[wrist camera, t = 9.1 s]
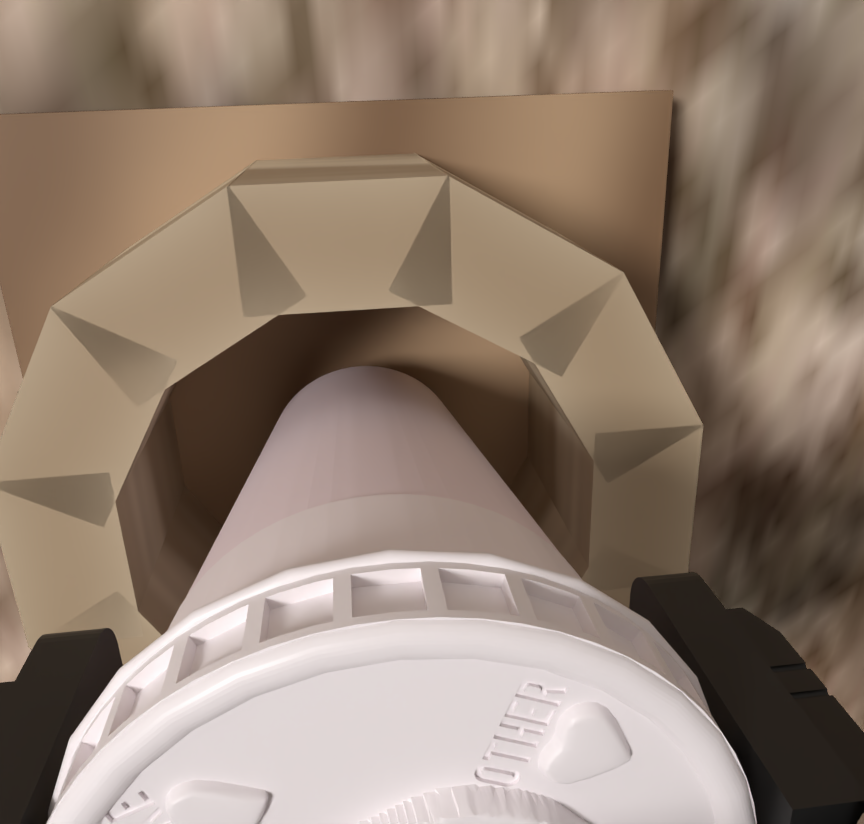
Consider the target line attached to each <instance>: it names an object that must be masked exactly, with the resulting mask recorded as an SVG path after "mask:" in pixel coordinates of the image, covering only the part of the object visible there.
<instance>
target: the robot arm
mask: <svg viewBox="0 0 864 824" xmlns="http://www.w3.org/2000/svg"><path fill="white" fill-rule="evenodd" d="M629 609H630V610H632V611H634V612H635V613H637V614H639V615H640V616H642V617H644V618H645V619H647V620H649V622H650V623H651V624H652V625H653V626H654V627H655V629H656V630H657V631H658V632H659V633H660V634H661V636H662V637H663V638H664V639H665V640H666V641H667V642H668V644H669V645H670V646H671V647H672V648H673V649H674V651H675V652H676V653H677V654H678V655H679V656H680V658H681V659H682V660H683V661H684V662H685V663H686V665H687V666H688V667H689V668H690V669H691V670H692V671H693V673H694V674H695V675H696V676H697V678H698V681H699V684H700V686H701V689H702V691H703V694H704V697H705V699H706V702H707V705H708V707H709V710H710V713H711V715H712V717H713V718H714V720H715V722H716V723H717V725H718V727H719V728H720V730H721V731H722V733H723V735H724V736H725V738H726V739H727V741H728V742H729V744H730V746H731V747H732V749H733V750H734V752H735V754H736V755H737V758H738V760H739V762H740V764H741V766H742V769H743V771H744V773H745V775H746V777H747V780H748V784H749V787H750V791H751V794H752V798H753V801H754V807H755V814H756V820H757V824H864V732H863V731H862V730H861V729H860V728H859V726H858V725H857V724H856V723H855V722H854V720H853V719H852V718H851V717H850V716H849V714H848V713H847V712H846V711H845V710H844V708H843V707H842V706H841V705H840V704H839V702H838V701H837V700H836V699H835V698H834V696H833V695H831V696H829V695H828V693H827V688H826V687H825V686H824V684H823V683H822V682H821V681H820V680H819V678H818V677H817V676H816V675H815V674H814V672H813V671H812V670H811V669H807V668H806V665H805V662H804V660H803V659H802V658H801V657H800V656H799V654H798V653H797V652H796V651H795V650H794V648H793V647H792V646H791V645H790V644H789V642H788V641H787V640H786V639H785V638H784V636H783V635H782V634H781V633H780V632H779V631H777V630H776V629H774V628H773V627H771V626H770V625H768V624H767V623H765V622H764V621H762V620H761V619H759V618H757V617H756V616H754V615H753V614H751V613H750V612H748V611H747V610H745V609H744V608H735V609H725V608H724V607H723V605H722V604H721V603H720V601H719V600H718V599H717V597H716V596H715V595H714V593H713V592H712V591H711V590H710V588H709V587H708V586H707V584H706V583H705V582H704V580H703V579H702V578H701V577H700V576H699V575H698V574H697V573H694V572H688V573H678V574H667V575H657V576H647V577H637V578H636V579H635V580H634V581H633V583H632V586H631V592H630V603H629ZM122 666H123V664H122V659H121V655H120V650H119V646H118V642H117V639H116V636H115V634H114V632H113V631H112V630H111V629H110V628H102V629H92V630H82V631H71V632H61V633H51V634H44V635H42V636H41V637H40V638H39V639H38V640H37V642H36V643H35V645H34V647H33V649H32V651H31V652H30V654H29V656H28V658H27V660H26V662H25V664H24V665H23V667H22V669H21V671H20V673H19V675H18V677H17V679H16V680H15V681H13V682H3V683H0V824H46V823H47V821H48V809H49V806H50V802H51V799H52V796H53V792H54V789H55V786H56V782H57V779H58V775H59V772H60V769H61V765H62V762H63V758H64V755H65V752H66V748H67V745H68V741H69V738H70V737H71V735H72V734H73V733H74V731H75V730H76V728H77V727H78V726H79V724H80V723H81V721H82V720H83V719H84V717H85V716H86V714H87V713H88V712H89V710H90V709H91V707H92V706H93V705H94V703H95V702H96V700H97V699H98V698H99V696H100V695H101V693H102V692H103V691H104V689H105V688H106V686H107V685H108V684H109V682H110V681H111V679H112V678H113V677H114V675H115V674H116V672H117V671H118V670H119V668H121V667H122Z"/></svg>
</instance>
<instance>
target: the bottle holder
mask: <svg viewBox="0 0 864 824" xmlns="http://www.w3.org/2000/svg"><path fill="white" fill-rule="evenodd" d="M672 103H673V90H658V91H628V92H600V93H572V94H545V95H517V96H489V97H462V98H434V99H406V100H378V101H351V102H323V103H295V104H268V105H240V106H212V107H184V108H157V109H129V110H101V111H74V112H46V113H18V114H0V285H1V290H2V294H3V298H4V302H5V306H6V310H7V314H8V319H9V323H10V327H11V331H12V335H13V339H14V343H15V348H16V352H17V356H18V360H19V364H20V368H21V372H22V376H23V381H22V384H21V386H20V389H19V391H18V394H17V397H16V399H15V402H14V404H13V407H12V410H11V412H10V415H9V418H8V420H7V423H6V425H5V428H4V431H3V433H2V436H1V439H0V545H1V549H2V552H3V556H4V560H5V563H6V567H7V570H8V574H9V578H10V581H11V585H12V589H13V592H14V596H15V599H16V603H17V607H18V610H19V614H20V618H21V621H22V625H23V628H24V632H25V636H26V639H27V643H28V647H29V648H30V649H31V650H32V649H33V647H34V645H35V643H36V642H37V640H38V639H39V638H40V637H41V636H42V635H44V634H51V633H61V632H71V631H82V630H92V629H102V628H110V629H111V630H112V631H113V632H114V634H115V636H116V639H117V642H118V646H119V650H120V655H121V659H122V664H123V665H125V664H126V663H127V662H128V661H130V660H131V659H132V658H133V657H135V656H136V655H137V654H139V653H140V652H141V651H142V650H144V649H145V648H146V647H147V646H149V645H150V644H151V643H153V642H154V641H155V640H156V639H158V638H159V637H160V636H161V635H163V634H164V633H165V632H167V630H168V628H169V626H170V624H171V622H172V620H173V619H174V617H175V615H176V613H177V611H178V609H179V607H180V606H181V604H182V603H183V601H184V600H185V598H186V596H187V594H188V592H189V590H190V588H191V587H192V585H193V583H194V581H195V579H196V577H197V575H198V573H199V571H200V569H201V567H202V565H203V563H204V562H205V560H206V558H207V556H208V554H209V552H210V550H211V548H212V546H213V544H214V542H215V540H216V538H217V537H218V535H219V533H220V531H221V529H222V527H223V525H224V523H225V521H226V519H227V517H228V515H229V513H230V512H231V510H232V508H233V506H234V504H235V502H236V500H237V498H238V496H239V494H240V492H241V490H242V489H243V487H244V485H245V483H246V481H247V479H248V477H249V475H250V473H251V471H252V469H253V467H254V465H255V464H256V462H257V460H258V458H259V456H260V454H261V452H262V450H263V448H264V446H265V444H266V442H267V440H268V439H269V437H270V435H271V433H272V431H273V429H274V427H275V425H276V423H277V421H278V419H279V417H280V416H281V414H282V412H283V410H284V409H285V407H286V406H287V404H288V403H289V402H290V401H291V399H292V398H293V397H294V396H295V395H296V394H297V393H298V392H299V391H300V390H302V389H303V388H304V387H305V386H307V385H308V384H309V383H311V382H313V381H314V380H316V379H318V378H320V377H321V376H323V375H326V374H328V373H331V372H333V371H337V370H340V369H344V368H349V367H358V366H375V367H383V368H389V369H392V370H396V371H399V372H402V373H404V374H407V375H409V376H411V377H413V378H415V379H416V380H418V381H420V382H421V383H423V384H424V385H425V386H427V387H428V388H429V389H430V390H431V391H432V392H433V393H434V394H435V395H436V396H437V397H438V398H439V399H440V400H441V402H442V403H443V404H444V405H445V407H446V408H447V409H448V411H449V412H450V413H451V414H452V416H453V417H454V418H455V420H456V421H457V422H458V423H459V425H460V426H461V427H462V428H463V430H464V431H465V432H466V434H467V435H468V436H469V437H470V439H471V440H472V441H473V443H474V444H475V445H476V446H477V448H478V449H479V450H480V451H481V453H482V454H483V455H484V457H485V458H486V459H487V460H488V462H489V463H490V464H491V466H492V467H493V468H494V469H495V471H496V472H497V473H498V474H499V476H500V477H501V478H502V480H503V481H504V482H505V483H506V485H507V486H508V487H509V489H510V490H511V491H512V492H513V494H514V495H515V496H516V497H517V499H518V500H519V501H520V503H521V504H522V505H523V506H524V508H525V509H526V510H527V512H528V513H529V514H530V515H531V517H532V518H533V519H534V520H535V522H536V523H537V524H538V526H539V527H540V528H541V529H542V531H543V532H544V533H545V535H546V536H547V537H548V538H549V540H550V541H551V542H552V543H553V545H554V546H555V547H556V549H557V550H558V551H559V552H560V554H561V555H562V556H563V557H564V558H565V559H566V560H567V562H568V563H569V564H570V565H571V566H572V567H573V569H574V570H575V571H576V572H577V573H578V575H579V576H580V578H581V579H582V580H583V581H584V582H586V583H588V584H589V585H591V586H593V587H594V588H596V589H598V590H599V591H601V592H603V593H604V594H606V595H607V596H609V597H611V598H612V599H614V600H616V601H617V602H619V603H621V604H622V605H624V606H626V607H627V608H629V603H630V592H631V586H632V583H633V581H634V580H635V579H636V578H637V577H647V576H657V575H667V574H678V573H688V567H689V557H690V548H691V538H692V529H693V520H694V510H695V501H696V491H697V482H698V472H699V463H700V453H701V444H702V434H703V424H702V422H701V420H700V418H699V416H698V414H697V412H696V410H695V408H694V406H693V404H692V403H691V401H690V399H689V397H688V395H687V393H686V391H685V389H684V387H683V385H682V383H681V381H680V380H679V378H678V376H677V374H676V372H675V370H674V368H673V366H672V364H671V362H670V360H669V358H668V356H667V355H666V353H665V351H664V349H663V347H662V345H661V343H660V341H659V339H658V337H657V335H656V333H655V325H656V312H657V299H658V286H659V273H660V260H661V247H662V234H663V221H664V207H665V194H666V181H667V168H668V155H669V142H670V129H671V116H672Z"/></svg>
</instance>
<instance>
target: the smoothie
mask: <svg viewBox="0 0 864 824" xmlns="http://www.w3.org/2000/svg"><path fill="white" fill-rule="evenodd" d="M46 824H757V820H756V814H755V807H754V801H753V798H752V794H751V791H750V787H749V784H748V780H747V777H746V775H745V773H744V771H743V769H742V766H741V764H740V762H739V760H738V758H737V755H736V754H735V752H734V750H733V749H732V747H731V746H730V744H729V742H728V741H727V739H726V738H725V736H724V735H723V733H722V731H721V730H720V728H719V727H718V725H717V723H716V722H715V720H714V718H713V717H712V715H711V713H710V710H709V707H708V705H707V702H706V699H705V697H704V694H703V691H702V689H701V686H700V684H699V681H698V678H697V676H696V675H695V674H694V673H693V671H692V670H691V669H690V668H689V667H688V666H687V665H686V663H685V662H684V661H683V660H682V659H681V658H680V656H679V655H678V654H677V653H676V652H675V651H674V649H673V648H672V647H671V646H670V645H669V644H668V642H667V641H666V640H665V639H664V638H663V637H662V636H661V634H660V633H659V632H658V631H657V630H656V629H655V627H654V626H653V625H652V624H651V623H650V622H649V620H647V619H645V618H644V617H642V616H640V615H639V614H637V613H635V612H634V611H632V610H630V609H629V608H627V607H626V606H624V605H622V604H621V603H619V602H617V601H616V600H614V599H612V598H611V597H609V596H607V595H606V594H604V593H603V592H601V591H599V590H598V589H596V588H594V587H593V586H591V585H589V584H588V583H586V582H584V581H583V580H582V579H581V578H580V576H579V575H578V573H577V572H576V571H575V570H574V569H573V567H572V566H571V565H570V564H569V563H568V562H567V560H566V559H565V558H564V557H563V556H562V555H561V554H560V552H559V551H558V550H557V549H556V547H555V546H554V545H553V543H552V542H551V541H550V540H549V538H548V537H547V536H546V535H545V533H544V532H543V531H542V529H541V528H540V527H539V526H538V524H537V523H536V522H535V520H534V519H533V518H532V517H531V515H530V514H529V513H528V512H527V510H526V509H525V508H524V506H523V505H522V504H521V503H520V501H519V500H518V499H517V497H516V496H515V495H514V494H513V492H512V491H511V490H510V489H509V487H508V486H507V485H506V483H505V482H504V481H503V480H502V478H501V477H500V476H499V474H498V473H497V472H496V471H495V469H494V468H493V467H492V466H491V464H490V463H489V462H488V460H487V459H486V458H485V457H484V455H483V454H482V453H481V451H480V450H479V449H478V448H477V446H476V445H475V444H474V443H473V441H472V440H471V439H470V437H469V436H468V435H467V434H466V432H465V431H464V430H463V428H462V427H461V426H460V425H459V423H458V422H457V421H456V420H455V418H454V417H453V416H452V414H451V413H450V412H449V411H448V409H447V408H446V407H445V405H444V404H443V403H442V402H441V400H440V399H439V398H438V397H437V396H436V395H435V394H434V393H433V392H432V391H431V390H430V389H429V388H428V387H427V386H425V385H424V384H423V383H421V382H420V381H418V380H416V379H415V378H413V377H411V376H409V375H407V374H404V373H402V372H399V371H396V370H392V369H389V368H383V367H375V366H358V367H349V368H344V369H340V370H337V371H333V372H331V373H328V374H326V375H323V376H321V377H320V378H318V379H316V380H314V381H313V382H311V383H309V384H308V385H307V386H305V387H304V388H303V389H302V390H300V391H299V392H298V393H297V394H296V395H295V396H294V397H293V398H292V399H291V401H290V402H289V403H288V404H287V406H286V407H285V409H284V410H283V412H282V414H281V416H280V417H279V419H278V421H277V423H276V425H275V427H274V429H273V431H272V433H271V435H270V437H269V439H268V440H267V442H266V444H265V446H264V448H263V450H262V452H261V454H260V456H259V458H258V460H257V462H256V464H255V465H254V467H253V469H252V471H251V473H250V475H249V477H248V479H247V481H246V483H245V485H244V487H243V489H242V490H241V492H240V494H239V496H238V498H237V500H236V502H235V504H234V506H233V508H232V510H231V512H230V513H229V515H228V517H227V519H226V521H225V523H224V525H223V527H222V529H221V531H220V533H219V535H218V537H217V538H216V540H215V542H214V544H213V546H212V548H211V550H210V552H209V554H208V556H207V558H206V560H205V562H204V563H203V565H202V567H201V569H200V571H199V573H198V575H197V577H196V579H195V581H194V583H193V585H192V587H191V588H190V590H189V592H188V594H187V596H186V598H185V600H184V601H183V603H182V604H181V606H180V607H179V609H178V611H177V613H176V615H175V617H174V619H173V620H172V622H171V624H170V626H169V628H168V630H167V632H165V633H164V634H163V635H161V636H160V637H159V638H158V639H156V640H155V641H154V642H153V643H151V644H150V645H149V646H147V647H146V648H145V649H144V650H142V651H141V652H140V653H139V654H137V655H136V656H135V657H133V658H132V659H131V660H130V661H128V662H127V663H126V664H125V665H123V666H122V667H121V668H119V670H118V671H117V672H116V674H115V675H114V677H113V678H112V679H111V681H110V682H109V684H108V685H107V686H106V688H105V689H104V691H103V692H102V693H101V695H100V696H99V698H98V699H97V700H96V702H95V703H94V705H93V706H92V707H91V709H90V710H89V712H88V713H87V714H86V716H85V717H84V719H83V720H82V721H81V723H80V724H79V726H78V727H77V728H76V730H75V731H74V733H73V734H72V735H71V737H70V738H69V741H68V745H67V748H66V752H65V755H64V758H63V762H62V765H61V769H60V772H59V775H58V779H57V782H56V786H55V789H54V792H53V796H52V799H51V802H50V806H49V809H48V821H47V823H46Z"/></svg>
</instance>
